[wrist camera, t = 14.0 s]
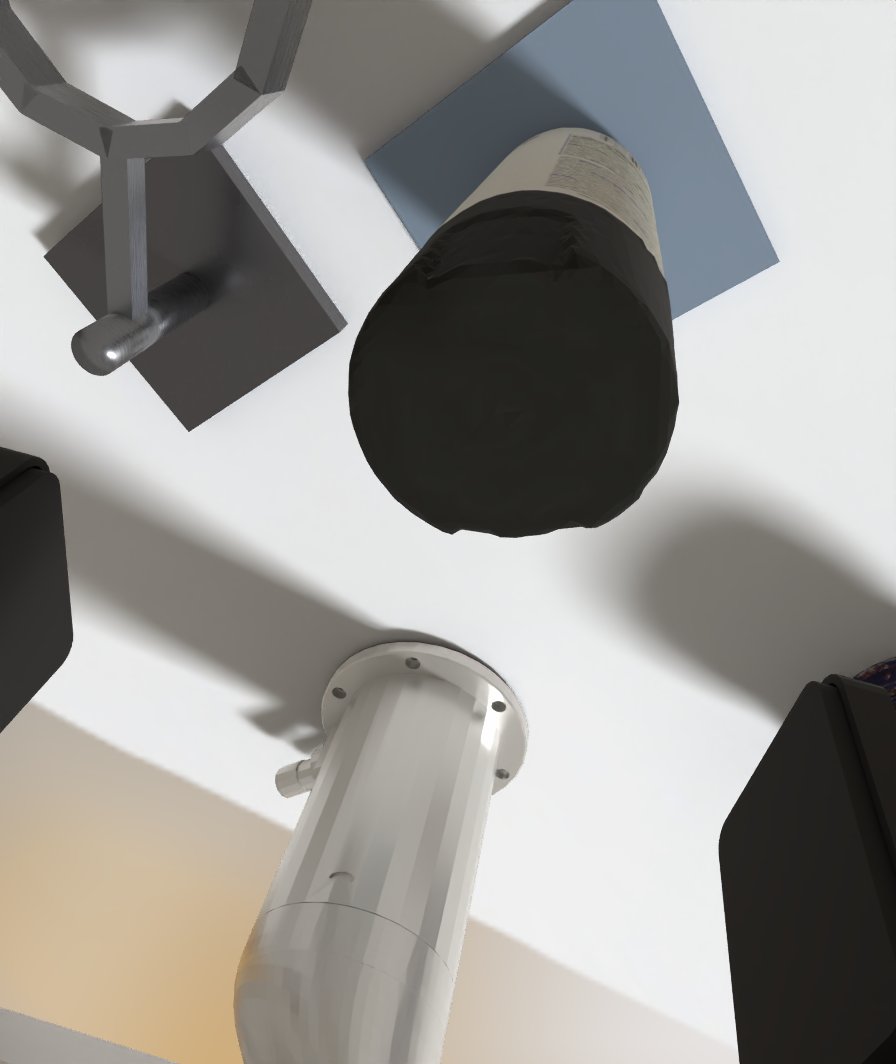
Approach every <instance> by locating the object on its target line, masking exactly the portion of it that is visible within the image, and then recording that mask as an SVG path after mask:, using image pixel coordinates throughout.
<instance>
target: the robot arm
mask: <svg viewBox="0 0 896 1064" xmlns="http://www.w3.org/2000/svg"><path fill="white" fill-rule="evenodd" d="M72 642H73V627H72V616H71V604H70V593H69V582H68V571H67V559H66V548H65V537H64V526H63V514H62V503H61V492H60V484H59V480H58V478H57V476H56V475H55V474H53V473H50V471H49V467H48V465H47V463H46V462H45V461H44V460H43V459H41V458H39V457H36V456H32V455H28V454H25V453H21V452H17V451H14V450H10V449H6V448H3V447H0V733H1V732H2V731H3V730H4V728H5V727H6V726H7V725H8V724H9V723H10V722H11V721H12V720H13V718H14V717H15V716H16V715H17V714H18V713H19V711H21V709H22V708H23V707H24V706H25V705H26V704H27V703H28V702H29V701H30V700H31V698H32V697H33V696H34V695H35V694H36V693H37V692H38V691H39V690H40V688H41V687H42V686H43V685H44V684H45V683H46V682H47V681H48V680H49V678H50V677H51V676H52V675H53V674H54V673H55V672H56V671H57V670H58V669H59V667H60V666H61V665H62V664H63V663H64V661H65V660H66V658H67V656H68V654H69V652H70V649H71V647H72ZM321 716H322V725H323V728H324V731H325V734H326V737H327V739H326V742H325V744H324V746H323V748H320V749H318V750H315V752H314V753H313V754H312V756H311V759H308V760H301V761H298V762H295V763H293V764H290V765H287V766H284V767H282V768H281V769H279V770H278V772H277V774H276V778H275V783H276V787H277V790H278V791H279V793H280V794H281V795H282V796H284V797H286V798H290V797H293V796H296V795H299V794H302V793H305V792H308V791H311V792H310V795H309V797H308V799H307V802H306V804H305V806H304V809H303V811H302V813H301V816H300V818H299V821H298V823H297V825H296V828H295V830H294V832H293V835H292V837H291V839H290V842H289V844H288V847H287V849H286V851H285V854H284V856H283V858H282V861H281V863H280V865H279V868H278V870H277V873H276V875H275V877H274V880H273V882H272V884H271V887H270V889H269V891H268V894H267V896H266V898H265V901H264V903H263V905H262V908H261V910H260V912H259V915H258V917H257V919H256V922H255V924H254V927H253V929H252V931H251V934H250V936H249V939H248V941H247V943H246V946H245V948H244V951H243V953H242V956H241V959H240V962H239V965H238V969H237V975H236V979H235V986H234V1003H233V1005H234V1006H233V1007H234V1017H235V1027H236V1032H237V1037H238V1042H239V1047H240V1051H241V1054H242V1058H243V1062H244V1064H441V1058H442V1052H443V1047H444V1041H445V1036H446V1030H447V1025H448V1020H449V1014H450V1009H451V1004H452V998H453V993H454V988H455V983H456V978H457V973H458V967H459V961H460V957H461V951H462V946H463V940H464V936H465V930H466V925H467V920H468V915H469V909H470V904H471V899H472V894H473V888H474V883H475V878H476V873H477V867H478V862H479V857H480V852H481V846H482V841H483V836H484V831H485V825H486V820H487V815H488V810H489V804H490V799H491V795H494V794H495V793H497V792H498V791H500V790H501V789H503V788H504V787H506V786H507V785H508V784H509V783H510V782H511V781H512V780H513V779H514V778H515V777H516V776H517V774H518V772H519V770H520V769H521V767H522V765H523V763H524V759H525V754H526V750H527V741H528V727H527V721H526V716H525V714H524V712H523V709H522V707H521V704H520V702H519V701H518V699H517V698H516V696H515V695H514V694H513V692H512V691H511V689H510V688H509V687H508V686H507V685H506V684H505V683H504V682H503V681H502V680H501V679H500V678H499V677H498V676H497V675H496V674H495V673H493V672H492V671H491V670H489V669H488V668H487V667H485V666H484V665H482V664H481V663H479V662H477V661H476V660H474V659H472V658H470V657H468V656H466V655H464V654H462V653H459V652H456V651H453V650H450V649H447V648H444V647H441V646H436V645H431V644H425V643H419V642H395V643H387V644H380V645H377V646H374V647H371V648H368V649H365V650H362V651H361V652H359V653H357V654H355V655H353V656H352V657H350V658H348V659H347V660H346V661H345V662H344V663H343V664H342V665H341V666H340V667H339V668H338V669H337V670H336V672H335V673H334V675H333V676H332V678H331V680H330V682H329V684H328V686H327V689H326V691H325V693H324V695H323V700H322V706H321ZM719 862H720V872H721V882H722V892H723V902H724V912H725V922H726V932H727V942H728V952H729V962H730V972H731V982H732V992H733V1002H734V1012H735V1022H736V1032H737V1042H738V1052H739V1062H740V1064H896V710H895V707H894V705H893V702H892V699H891V697H890V695H889V693H888V691H887V690H886V689H885V688H883V687H881V686H878V685H874V684H870V683H867V682H863V681H859V680H856V679H852V678H848V677H845V676H841V675H837V674H830V675H829V676H828V677H826V678H825V679H824V680H823V682H822V683H819V682H816V681H811V682H809V683H808V684H807V685H806V686H805V688H804V689H803V691H802V692H801V694H800V696H799V697H798V699H797V701H796V702H795V704H794V706H793V707H792V709H791V711H790V712H789V714H788V716H787V717H786V719H785V721H784V723H783V724H782V726H781V728H780V729H779V731H778V733H777V734H776V736H775V738H774V739H773V741H772V743H771V744H770V746H769V748H768V749H767V751H766V753H765V755H764V756H763V758H762V760H761V761H760V763H759V765H758V766H757V768H756V770H755V771H754V773H753V775H752V776H751V778H750V780H749V781H748V783H747V785H746V787H745V788H744V790H743V792H742V793H741V795H740V797H739V798H738V800H737V802H736V803H735V805H734V807H733V808H732V810H731V812H730V813H729V815H728V817H727V819H726V820H725V822H724V824H723V827H722V830H721V834H720V839H719ZM0 1064H179V1063H175V1062H172V1061H169V1060H166V1059H163V1058H160V1057H157V1056H154V1055H150V1054H147V1053H144V1052H141V1051H138V1050H134V1049H132V1048H128V1047H125V1046H122V1045H119V1044H116V1043H112V1042H109V1041H106V1040H103V1039H100V1038H97V1037H94V1036H90V1035H87V1034H84V1033H81V1032H78V1031H75V1030H72V1029H68V1028H65V1027H62V1026H59V1025H56V1024H53V1023H50V1022H46V1021H43V1020H40V1019H37V1018H33V1017H30V1016H27V1015H24V1014H21V1013H18V1012H14V1011H11V1010H8V1009H5V1008H1V1007H0Z"/></svg>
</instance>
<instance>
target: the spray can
mask: <svg viewBox="0 0 896 1064" xmlns="http://www.w3.org/2000/svg"><path fill="white" fill-rule="evenodd" d="M348 396H349V407H350V416H351V420H352V424H353V427H354V430H355V433H356V436H357V439H358V441H359V444H360V447H361V449H362V451H363V453H364V455H365V458H366V460H367V462H368V464H369V465H370V467H371V469H372V470H373V472H374V474H375V475H376V476H377V478H378V479H379V480H380V481H381V483H382V484H383V485H384V486H385V487H386V489H387V490H388V491H389V492H390V494H391V495H392V496H393V497H394V498H395V499H396V500H397V501H398V502H399V503H400V504H402V505H403V506H404V507H405V508H406V509H408V510H409V511H410V512H411V513H413V514H414V515H416V516H417V517H419V518H420V519H422V520H424V521H425V522H427V523H428V524H430V525H432V526H433V527H435V528H437V529H439V530H441V531H442V532H445V533H449V534H454V533H456V532H457V531H459V530H462V529H463V530H469V531H476V532H482V533H489V534H493V535H496V536H498V537H509V538H518V537H524V536H533V535H542V534H547V533H550V532H552V531H555V530H557V529H564V528H573V527H585V528H597V527H599V526H601V525H603V524H605V523H607V522H609V521H611V520H612V519H614V518H615V517H617V516H618V515H620V514H621V513H622V512H624V511H625V510H626V509H627V508H628V507H630V506H631V505H632V504H633V503H634V502H635V501H637V500H638V499H639V497H640V495H641V493H642V492H643V490H644V488H645V486H646V485H647V484H648V483H649V482H650V480H651V479H652V478H653V477H654V476H655V474H656V473H657V472H658V470H659V468H660V466H661V464H662V461H663V459H664V457H665V455H666V453H667V450H668V447H669V443H670V440H671V437H672V434H673V430H674V427H675V421H676V415H677V410H678V405H679V396H678V384H677V371H676V362H675V352H674V337H673V326H672V315H671V306H670V299H669V292H668V286H667V282H666V280H665V277H664V270H663V264H662V256H661V251H660V245H659V239H658V234H657V227H656V220H655V214H654V208H653V203H652V197H651V192H650V188H649V185H648V181H647V179H646V177H645V175H644V173H643V171H642V169H641V167H640V166H639V164H638V162H637V161H636V160H635V158H634V157H633V156H632V155H631V154H630V153H629V152H628V151H627V150H626V149H625V148H624V147H623V146H622V145H620V144H619V143H618V142H616V141H615V140H613V139H612V138H610V137H608V136H606V135H604V134H601V133H599V132H596V131H592V130H589V129H584V128H557V129H553V130H549V131H546V132H543V133H540V134H537V135H535V136H533V137H532V138H530V139H528V140H527V141H525V142H524V143H522V144H521V145H519V146H518V147H517V148H515V149H514V150H513V151H512V152H511V153H510V154H509V155H508V156H507V157H506V158H505V159H504V160H503V161H502V162H501V164H499V165H498V166H497V167H496V169H495V170H494V171H493V172H492V173H491V174H490V175H489V176H488V177H487V178H486V179H485V180H484V181H483V182H482V183H481V184H480V186H479V187H478V188H477V189H476V190H475V191H474V192H473V193H472V194H471V195H470V196H469V197H468V198H467V199H466V200H465V201H464V202H463V203H462V204H461V205H460V206H459V207H458V208H457V210H456V211H455V212H454V213H453V214H452V215H451V216H450V217H449V218H448V219H447V220H446V221H445V222H444V223H443V224H442V225H441V226H440V228H439V229H437V230H436V232H435V233H434V234H433V235H432V236H431V237H430V238H429V239H428V241H427V242H426V243H425V245H424V246H423V247H422V249H421V250H420V251H419V252H418V253H417V254H416V255H415V257H414V258H413V259H412V260H411V262H410V263H409V264H408V265H407V266H406V267H405V269H404V270H403V271H402V272H401V274H400V275H399V276H398V277H397V278H396V279H395V281H394V282H393V283H392V284H391V285H390V286H389V287H388V288H387V289H386V290H385V291H384V292H383V293H382V295H381V296H380V298H379V299H378V300H377V302H376V303H375V305H374V306H373V307H372V309H371V310H370V312H369V313H368V315H367V317H366V319H365V321H364V323H363V325H362V328H361V330H360V332H359V334H358V336H357V338H356V341H355V345H354V348H353V352H352V355H351V359H350V364H349V388H348Z"/></svg>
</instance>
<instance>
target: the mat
mask: <svg viewBox="0 0 896 1064" xmlns="http://www.w3.org/2000/svg"><path fill="white" fill-rule="evenodd" d="M557 128H584V129H589V130H592V131H596V132H599V133H601V134H604V135H606V136H608V137H610V138H612V139H613V140H615V141H616V142H618V143H619V144H620V145H622V146H623V147H624V148H625V149H626V150H627V151H628V152H629V153H630V154H631V155H632V156H633V157H634V158H635V160H636V161H637V162H638V164H639V166H640V167H641V169H642V171H643V173H644V175H645V177H646V179H647V181H648V185H649V188H650V192H651V197H652V203H653V208H654V214H655V220H656V227H657V234H658V239H659V245H660V251H661V256H662V264H663V270H664V277H665V280H666V282H667V286H668V292H669V299H670V306H671V315H672V320H673V319H675V318H677V317H679V316H680V315H682V314H684V313H686V312H688V311H690V310H691V309H693V308H695V307H697V306H699V305H701V304H703V303H704V302H706V301H708V300H710V299H712V298H714V297H715V296H717V295H719V294H721V293H723V292H725V291H727V290H728V289H730V288H732V287H734V286H736V285H738V284H739V283H741V282H743V281H745V280H747V279H749V278H751V277H752V276H754V275H756V274H758V273H760V272H762V271H763V270H765V269H767V268H769V267H771V266H773V265H775V264H776V263H778V262H780V261H779V259H778V257H777V255H776V253H775V251H774V249H773V246H772V244H771V242H770V240H769V238H768V236H767V234H766V232H765V229H764V227H763V225H762V223H761V221H760V219H759V217H758V215H757V212H756V210H755V208H754V206H753V204H752V202H751V200H750V198H749V195H748V193H747V191H746V189H745V187H744V185H743V183H742V181H741V178H740V176H739V174H738V172H737V170H736V168H735V166H734V164H733V161H732V159H731V157H730V155H729V153H728V151H727V149H726V147H725V144H724V142H723V140H722V138H721V136H720V134H719V132H718V130H717V127H716V125H715V123H714V121H713V119H712V117H711V115H710V113H709V110H708V108H707V106H706V104H705V102H704V100H703V98H702V96H701V93H700V91H699V89H698V87H697V85H696V83H695V81H694V79H693V76H692V74H691V72H690V70H689V68H688V66H687V64H686V62H685V60H684V57H683V55H682V53H681V51H680V49H679V47H678V45H677V43H676V40H675V38H674V36H673V34H672V32H671V30H670V28H669V26H668V23H667V21H666V19H665V17H664V15H663V13H662V11H661V9H660V6H659V4H658V2H657V0H573V1H571V2H570V3H569V4H567V5H566V6H565V7H564V8H562V9H561V10H560V11H558V12H557V13H556V14H554V15H553V16H552V17H550V18H549V19H548V20H547V21H545V22H544V23H543V24H541V25H540V26H539V27H537V28H536V29H535V30H534V31H532V32H531V33H530V34H528V35H527V36H526V37H524V38H523V39H522V40H521V41H519V42H518V43H517V44H515V45H514V46H513V47H511V48H510V49H509V50H508V51H506V52H505V53H504V54H502V55H501V56H500V57H498V58H497V59H496V60H495V61H493V62H492V63H491V64H489V65H488V66H487V67H485V68H484V69H483V70H482V71H480V72H479V73H478V74H476V75H475V76H474V77H472V78H471V79H470V80H469V81H467V82H466V83H465V84H463V85H462V86H461V87H459V88H458V89H457V90H456V91H454V92H453V93H452V94H450V95H449V96H448V97H446V98H445V99H444V100H443V101H441V102H440V103H439V104H437V105H436V106H435V107H433V108H432V109H431V110H430V111H428V112H427V113H426V114H424V115H423V116H422V117H420V118H419V119H418V120H417V121H415V122H414V123H413V124H411V125H410V126H409V127H407V128H406V129H405V130H404V131H402V132H401V133H400V134H398V135H397V136H396V137H394V138H393V139H392V140H391V141H389V142H388V143H387V144H385V145H384V146H383V147H381V148H380V149H379V150H378V151H376V152H375V153H374V154H372V155H371V156H370V157H368V158H367V159H366V160H365V161H364V163H365V164H366V166H367V167H368V169H369V170H370V172H371V174H372V175H373V177H374V178H375V180H376V181H377V183H378V184H379V186H380V188H381V189H382V191H383V192H384V194H385V195H386V197H387V198H388V200H389V202H390V203H391V205H392V206H393V208H394V209H395V211H396V213H397V214H398V216H399V217H400V219H401V220H402V222H403V223H404V225H405V227H406V228H407V230H408V231H409V233H410V234H411V236H412V237H413V239H414V241H415V242H416V244H417V245H418V247H419V248H420V250H421V249H422V247H423V246H424V245H425V243H426V242H427V241H428V239H429V238H430V237H431V236H432V235H433V234H434V233H435V232H436V230H437V229H439V228H440V226H441V225H442V224H443V223H444V222H445V221H446V220H447V219H448V218H449V217H450V216H451V215H452V214H453V213H454V212H455V211H456V210H457V208H458V207H459V206H460V205H461V204H462V203H463V202H464V201H465V200H466V199H467V198H468V197H469V196H470V195H471V194H472V193H473V192H474V191H475V190H476V189H477V188H478V187H479V186H480V184H481V183H482V182H483V181H484V180H485V179H486V178H487V177H488V176H489V175H490V174H491V173H492V172H493V171H494V170H495V169H496V167H497V166H498V165H499V164H501V162H502V161H503V160H504V159H505V158H506V157H507V156H508V155H509V154H510V153H511V152H512V151H513V150H514V149H515V148H517V147H518V146H519V145H521V144H522V143H524V142H525V141H527V140H528V139H530V138H532V137H533V136H535V135H537V134H540V133H543V132H546V131H549V130H553V129H557Z"/></svg>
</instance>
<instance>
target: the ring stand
mask: <svg viewBox="0 0 896 1064" xmlns="http://www.w3.org/2000/svg"><path fill="white" fill-rule="evenodd" d="M311 3H312V0H255V1H254V5H253V8H252V12H251V16H250V19H249V23H248V27H247V30H246V34H245V38H244V41H243V45H242V48H241V52H240V56H239V59H238V63H237V67H236V70H235V71H234V72H233V73H232V74H231V75H230V76H229V77H228V78H227V79H225V80H224V81H223V82H222V83H221V84H220V85H219V86H218V87H217V88H216V89H214V90H213V91H212V92H211V93H210V94H209V95H208V96H207V97H206V98H205V99H204V100H202V101H201V102H200V103H199V104H198V105H197V106H196V107H195V108H194V109H193V110H192V111H190V112H189V113H188V114H187V115H186V116H185V117H184V118H172V119H157V120H143V121H136V120H134V119H132V118H130V117H128V116H126V115H125V114H123V113H121V112H119V111H117V110H115V109H114V108H112V107H110V106H108V105H106V104H105V103H103V102H101V101H99V100H97V99H95V98H94V97H92V96H90V95H88V94H86V93H85V92H83V91H81V90H79V89H77V88H75V87H74V86H72V85H70V84H68V83H67V82H66V81H65V80H64V78H63V77H62V76H61V74H60V73H59V72H58V70H57V69H56V68H55V66H54V65H53V64H52V62H51V61H50V60H49V58H48V57H47V56H46V54H45V53H44V52H43V50H42V49H41V48H40V46H39V45H38V44H37V42H36V41H35V40H34V38H33V37H32V36H31V35H30V33H29V32H28V31H27V29H26V28H25V27H24V25H23V24H22V23H21V21H20V20H19V19H18V17H17V16H16V15H15V13H14V12H13V11H12V9H11V7H10V4H9V1H8V0H0V88H1V89H2V90H3V91H4V93H5V94H6V95H7V96H8V98H9V99H10V100H11V102H12V103H13V104H14V105H15V107H16V108H17V109H18V111H19V112H21V113H22V114H23V115H25V116H27V117H29V118H31V119H33V120H35V121H36V122H38V123H40V124H42V125H44V126H46V127H47V128H49V129H51V130H53V131H55V132H57V133H58V134H60V135H62V136H64V137H66V138H68V139H70V140H71V141H73V142H75V143H77V144H79V145H81V146H82V147H84V148H86V149H88V150H90V151H92V152H93V153H95V154H97V155H99V156H100V164H101V184H102V204H101V205H100V206H99V207H98V208H96V209H95V210H94V211H93V212H92V213H91V214H90V215H89V216H88V217H87V218H85V219H84V220H83V221H82V222H81V223H80V224H79V225H78V226H77V227H75V228H74V229H73V230H72V231H71V232H70V233H69V234H68V235H67V236H66V237H64V238H63V239H62V240H61V241H60V242H59V243H58V244H57V245H56V246H54V247H53V248H52V249H51V250H50V251H49V252H48V253H47V254H46V255H45V256H44V258H45V259H46V260H47V261H48V262H49V264H50V265H51V266H52V267H53V269H54V270H55V271H56V272H57V273H58V275H59V276H60V277H61V278H62V279H63V281H64V282H65V283H66V284H67V285H68V287H69V288H70V289H71V290H72V291H73V293H74V294H75V295H76V296H77V297H78V299H79V300H80V301H81V302H82V304H83V305H84V306H85V307H86V308H87V310H88V311H89V312H90V313H91V314H92V316H93V317H94V318H95V319H96V320H97V321H96V322H94V323H92V324H90V325H88V326H87V327H85V328H83V329H81V330H80V331H78V332H77V333H75V335H74V336H73V338H72V342H71V348H72V353H73V355H74V357H75V359H76V361H77V362H78V364H79V365H80V366H81V367H82V368H83V369H85V370H86V371H87V372H89V373H91V374H94V375H98V376H104V375H108V374H110V373H111V372H113V371H114V370H116V369H117V368H119V367H120V366H122V365H123V364H125V363H126V362H128V361H129V360H130V362H131V363H132V364H133V365H134V366H135V368H136V369H137V370H138V371H139V372H140V374H141V375H142V376H143V377H144V378H145V380H146V381H147V382H148V383H149V384H150V386H151V387H152V388H153V389H154V391H155V392H156V393H157V394H158V395H159V397H160V398H161V399H162V400H163V401H164V403H165V404H166V405H167V406H168V407H169V409H170V410H171V411H172V412H173V413H174V415H175V416H176V417H177V418H178V420H179V421H180V422H181V423H182V424H183V426H184V427H185V428H186V429H187V430H188V432H189V431H191V430H192V429H194V428H196V427H197V426H199V425H200V424H202V423H203V422H205V421H206V420H208V419H209V418H211V417H212V416H214V415H215V414H217V413H218V412H220V411H221V410H223V409H224V408H226V407H227V406H229V405H230V404H232V403H233V402H235V401H236V400H238V399H239V398H241V397H242V396H244V395H245V394H247V393H248V392H250V391H252V390H253V389H255V388H256V387H258V386H259V385H261V384H262V383H264V382H265V381H267V380H268V379H270V378H271V377H273V376H274V375H276V374H277V373H279V372H280V371H282V370H283V369H285V368H286V367H288V366H289V365H291V364H292V363H294V362H295V361H297V360H298V359H300V358H301V357H303V356H304V355H306V354H308V353H309V352H311V351H312V350H314V349H315V348H317V347H318V346H320V345H321V344H323V343H324V342H326V341H327V340H329V339H330V338H332V337H333V336H335V335H336V334H338V333H339V332H340V331H341V330H342V329H343V328H344V327H345V326H346V325H347V324H348V323H347V322H346V320H345V319H344V318H343V316H342V315H341V313H340V312H339V310H338V309H337V308H336V306H335V305H334V303H333V302H332V301H331V299H330V298H329V296H328V295H327V293H326V292H325V291H324V289H323V288H322V286H321V285H320V283H319V282H318V281H317V279H316V278H315V276H314V275H313V274H312V272H311V271H310V269H309V268H308V266H307V265H306V264H305V262H304V261H303V259H302V258H301V256H300V255H299V254H298V252H297V251H296V249H295V248H294V246H293V245H292V244H291V242H290V241H289V239H288V238H287V237H286V235H285V234H284V232H283V231H282V229H281V228H280V227H279V225H278V224H277V222H276V221H275V219H274V218H273V217H272V215H271V214H270V212H269V211H268V209H267V208H266V207H265V205H264V204H263V202H262V201H261V200H260V198H259V197H258V195H257V194H256V192H255V191H254V190H253V188H252V187H251V185H250V184H249V182H248V181H247V180H246V178H245V177H244V175H243V174H242V172H241V171H240V170H239V168H238V167H237V165H236V164H235V163H234V161H233V160H232V158H231V157H230V155H229V154H228V153H227V151H226V150H225V148H224V147H223V145H222V144H223V143H224V142H225V141H227V140H228V139H229V138H230V137H231V136H232V135H233V134H235V133H236V132H237V131H238V130H239V129H240V128H242V127H243V126H244V125H245V124H246V123H247V122H248V121H250V120H251V119H252V118H253V117H254V116H255V115H257V114H258V113H259V112H260V111H261V110H262V109H263V108H265V107H266V106H267V105H268V104H269V103H270V102H272V101H273V100H274V99H275V98H276V97H277V96H278V95H280V94H281V93H282V92H283V91H284V90H285V87H286V84H287V80H288V77H289V74H290V71H291V68H292V64H293V61H294V58H295V55H296V51H297V48H298V45H299V42H300V39H301V35H302V32H303V29H304V26H305V22H306V19H307V16H308V13H309V10H310V6H311ZM151 157H153V158H152V159H151V160H150V161H148V162H147V163H146V164H145V158H151Z"/></svg>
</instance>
